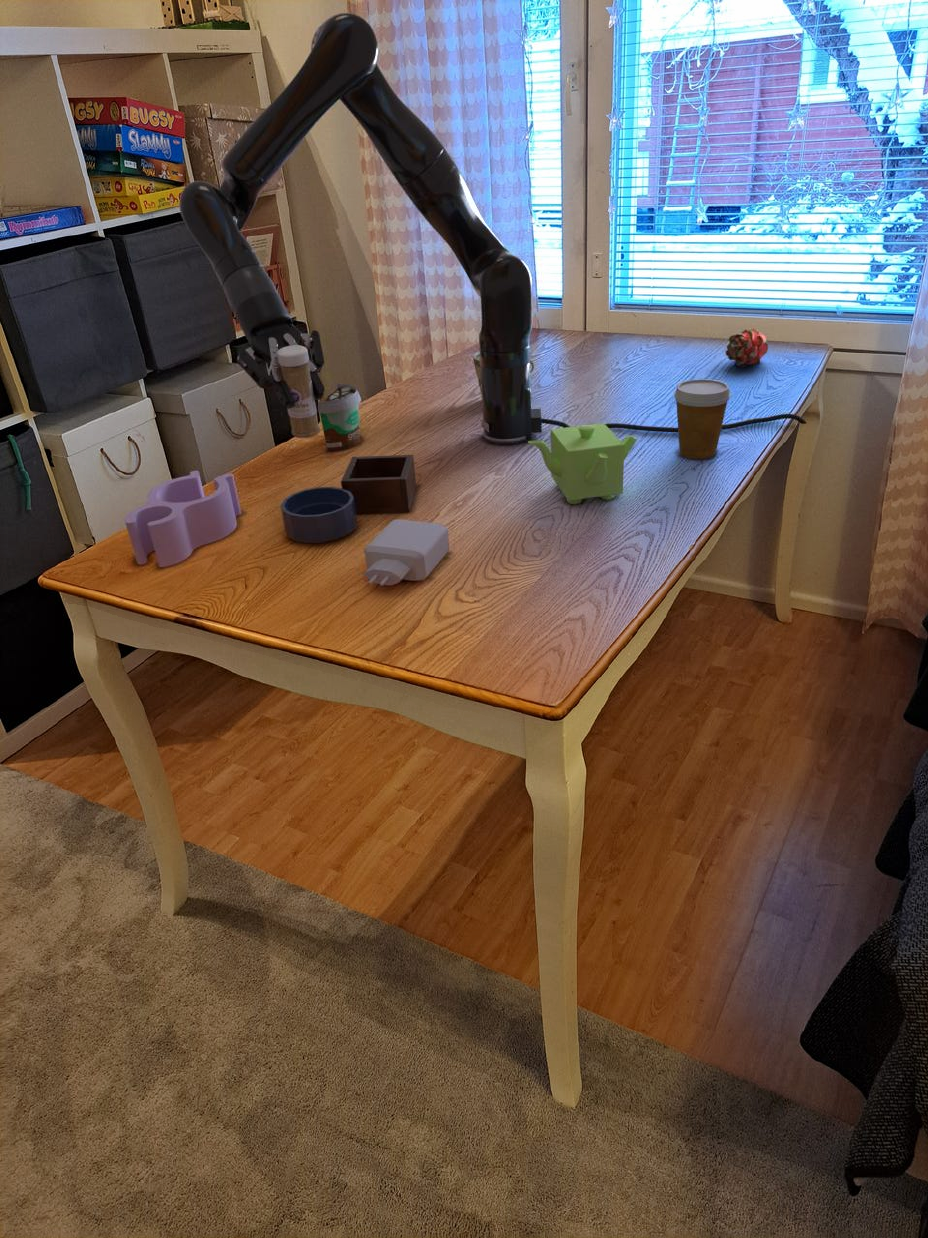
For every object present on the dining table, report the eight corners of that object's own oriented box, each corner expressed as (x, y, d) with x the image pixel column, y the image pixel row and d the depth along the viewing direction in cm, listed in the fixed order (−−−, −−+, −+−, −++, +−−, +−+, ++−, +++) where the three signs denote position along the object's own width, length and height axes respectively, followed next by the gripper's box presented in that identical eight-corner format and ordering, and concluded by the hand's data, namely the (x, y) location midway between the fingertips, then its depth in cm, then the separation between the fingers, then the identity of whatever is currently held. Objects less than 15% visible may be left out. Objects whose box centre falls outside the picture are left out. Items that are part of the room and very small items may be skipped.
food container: (355, 454, 167) (348, 402, 162) (324, 453, 168) (316, 402, 163) (373, 431, 177) (367, 382, 172) (344, 431, 178) (337, 382, 173)
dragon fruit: (729, 378, 197) (750, 372, 205) (763, 359, 191) (783, 353, 199) (713, 344, 196) (734, 339, 205) (746, 323, 190) (767, 319, 199)
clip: (185, 570, 131) (174, 527, 127) (116, 561, 134) (103, 520, 131) (254, 513, 146) (246, 474, 143) (191, 507, 150) (181, 469, 147)
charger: (347, 595, 121) (393, 546, 133) (408, 604, 118) (450, 553, 130) (342, 564, 119) (390, 518, 130) (404, 573, 115) (447, 524, 127)
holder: (416, 486, 152) (413, 454, 149) (409, 512, 143) (405, 478, 140) (356, 488, 153) (352, 456, 150) (345, 514, 144) (340, 481, 141)
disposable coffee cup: (730, 446, 158) (736, 379, 152) (719, 465, 151) (725, 396, 145) (677, 441, 162) (681, 376, 156) (664, 460, 155) (668, 392, 149)
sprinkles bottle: (290, 440, 138) (274, 355, 130) (293, 428, 141) (278, 345, 134) (319, 438, 138) (305, 353, 130) (322, 426, 141) (308, 343, 134)
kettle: (605, 518, 136) (606, 449, 131) (526, 502, 144) (523, 436, 138) (644, 483, 147) (647, 417, 141) (568, 469, 154) (568, 407, 148)
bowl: (362, 514, 144) (358, 485, 141) (350, 545, 134) (346, 515, 132) (295, 516, 145) (290, 487, 142) (278, 547, 135) (273, 517, 133)
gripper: (216, 300, 129) (268, 402, 128) (303, 280, 136) (353, 377, 135) (210, 329, 136) (259, 425, 135) (293, 308, 142) (340, 400, 141)
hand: (306, 401), depth 135 cm, fingers closed on sprinkles bottle, 4 cm apart
